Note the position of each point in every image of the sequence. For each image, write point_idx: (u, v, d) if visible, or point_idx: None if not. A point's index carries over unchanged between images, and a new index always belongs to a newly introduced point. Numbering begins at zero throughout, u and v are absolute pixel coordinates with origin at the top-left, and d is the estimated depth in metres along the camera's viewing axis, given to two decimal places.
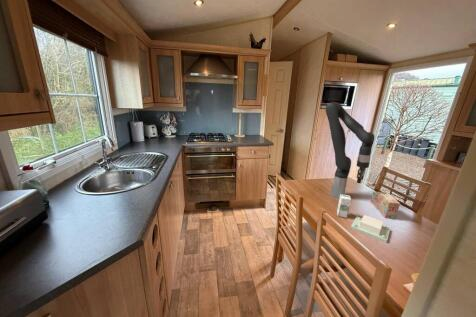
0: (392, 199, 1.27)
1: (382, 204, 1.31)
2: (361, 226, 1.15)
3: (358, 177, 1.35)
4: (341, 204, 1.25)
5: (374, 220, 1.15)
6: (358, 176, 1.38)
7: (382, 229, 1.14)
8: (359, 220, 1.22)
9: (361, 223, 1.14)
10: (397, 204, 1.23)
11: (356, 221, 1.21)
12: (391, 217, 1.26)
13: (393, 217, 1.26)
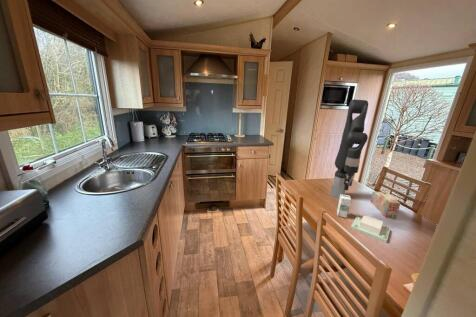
0: (392, 199, 1.27)
1: (382, 204, 1.31)
2: (361, 226, 1.15)
3: (345, 183, 1.17)
4: (341, 204, 1.25)
5: (374, 220, 1.15)
6: (346, 182, 1.20)
7: (382, 229, 1.14)
8: (359, 220, 1.22)
9: (361, 223, 1.14)
10: (397, 204, 1.23)
11: (356, 221, 1.21)
12: (391, 217, 1.27)
13: (393, 217, 1.26)
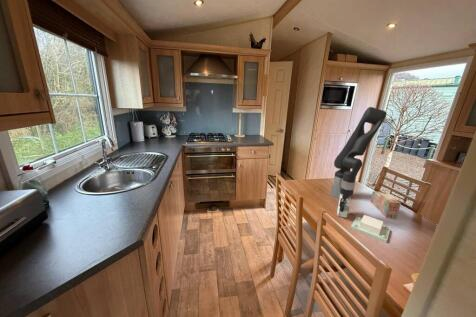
0: (393, 199, 1.27)
1: (383, 203, 1.32)
2: (361, 226, 1.15)
3: (341, 206, 1.23)
4: None
5: (374, 220, 1.15)
6: (341, 204, 1.25)
7: (382, 229, 1.14)
8: (359, 220, 1.22)
9: (361, 223, 1.14)
10: (398, 204, 1.24)
11: (356, 221, 1.21)
12: (392, 217, 1.27)
13: (394, 217, 1.27)
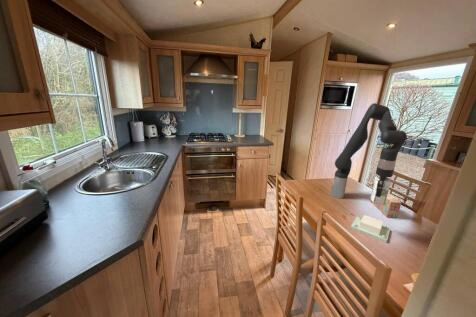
0: (393, 198, 1.28)
1: None
2: (361, 226, 1.15)
3: (378, 189, 1.03)
4: None
5: (374, 220, 1.15)
6: None
7: (382, 229, 1.14)
8: (359, 220, 1.22)
9: (361, 223, 1.14)
10: (398, 203, 1.24)
11: (356, 221, 1.21)
12: (392, 216, 1.27)
13: (394, 216, 1.27)
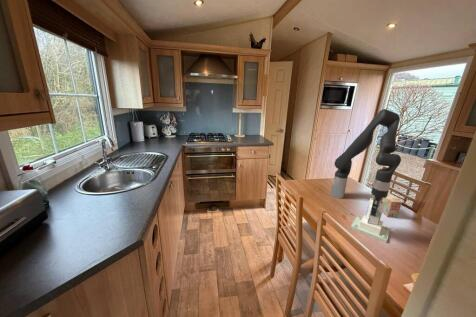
0: (393, 198, 1.28)
1: (384, 203, 1.32)
2: (361, 226, 1.15)
3: (373, 209, 1.06)
4: None
5: None
6: None
7: (382, 229, 1.14)
8: (359, 220, 1.22)
9: (361, 223, 1.14)
10: (399, 203, 1.24)
11: (356, 221, 1.21)
12: (393, 216, 1.28)
13: (395, 216, 1.28)
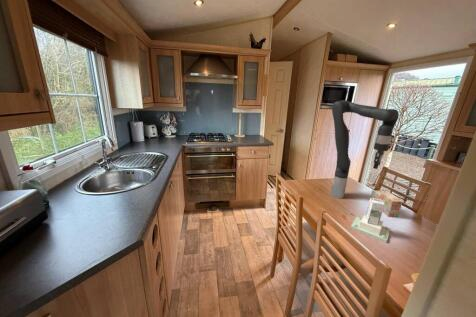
0: (394, 197, 1.29)
1: (384, 202, 1.33)
2: (361, 226, 1.15)
3: (376, 161, 1.17)
4: (372, 209, 1.10)
5: None
6: (375, 160, 1.19)
7: (382, 229, 1.14)
8: (359, 220, 1.22)
9: (361, 223, 1.14)
10: (400, 202, 1.25)
11: (356, 221, 1.21)
12: (394, 215, 1.28)
13: (396, 215, 1.28)
